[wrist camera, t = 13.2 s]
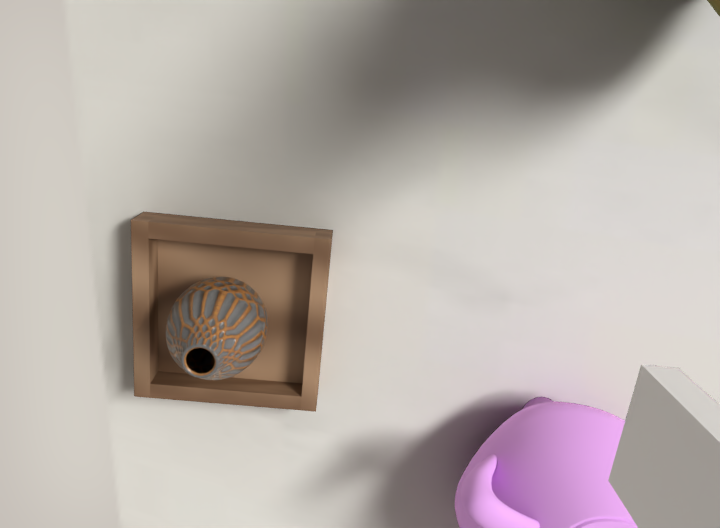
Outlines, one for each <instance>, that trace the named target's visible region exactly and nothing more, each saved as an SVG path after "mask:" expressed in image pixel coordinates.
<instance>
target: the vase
mask: <svg viewBox="0 0 720 528" xmlns="http://www.w3.org/2000/svg"><path fill="white" fill-rule="evenodd" d="M267 330H268V317H267V312H266V309H265V306H264V304H263V302H262V300H261V298H260V297H259V295H258V294H257V293H256V292H255V290H254V289H252V288H251V287H250V286H249V285H247V284H246V283H244V282H242V281H240V280H237V279H234V278H230V277H211V278H207V279H204V280H201V281H199V282H197V283H195V284H193V285H192V286H190V287H189V288H188V289H186V290H185V291H184V292H183V293H182V294H181V295H180V296H179V298H178V299H177V300H176V301H175V303H174V305H173V306H172V308H171V310H170V313H169V315H168V319H167V324H166V341H167V346H168V349H169V352H170V354H171V356H172V358H173V359H174V361H175V362H176V363H177V364H178V366H179V367H180V368H182V369H183V370H184V371H185V372H187V373H188V374H190V375H191V376H193V377H197V378H200V379H205V380H222V379H226V378H229V377H232V376H234V375H236V374H238V373H240V372H242V371H243V370H244V369H246V368H247V367H248V366H249V365H250V364H251V363H252V362H253V361H254V360H255V359H256V358H257V356H258V355H259V353H260V352H261V350H262V348H263V345H264V343H265V340H266V336H267Z"/></svg>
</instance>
